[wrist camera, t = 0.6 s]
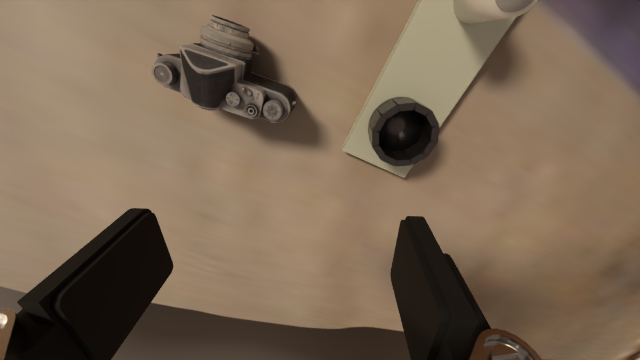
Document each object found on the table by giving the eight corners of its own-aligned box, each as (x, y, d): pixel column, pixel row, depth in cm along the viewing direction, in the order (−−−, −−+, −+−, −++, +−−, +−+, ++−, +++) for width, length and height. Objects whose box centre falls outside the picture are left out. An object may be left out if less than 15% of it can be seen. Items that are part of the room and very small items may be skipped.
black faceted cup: (387, 85, 31) (394, 91, 28) (439, 112, 32) (452, 120, 29) (357, 140, 34) (360, 151, 31) (405, 162, 36) (414, 175, 32)
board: (460, -81, 25) (467, -88, 24) (539, -29, 27) (550, -32, 25) (341, 146, 37) (342, 150, 35) (401, 173, 38) (404, 178, 37)
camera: (313, 51, 31) (306, 55, 22) (294, 116, 35) (282, 141, 26) (184, 2, 29) (121, -16, 20) (179, 76, 33) (123, 88, 24)
